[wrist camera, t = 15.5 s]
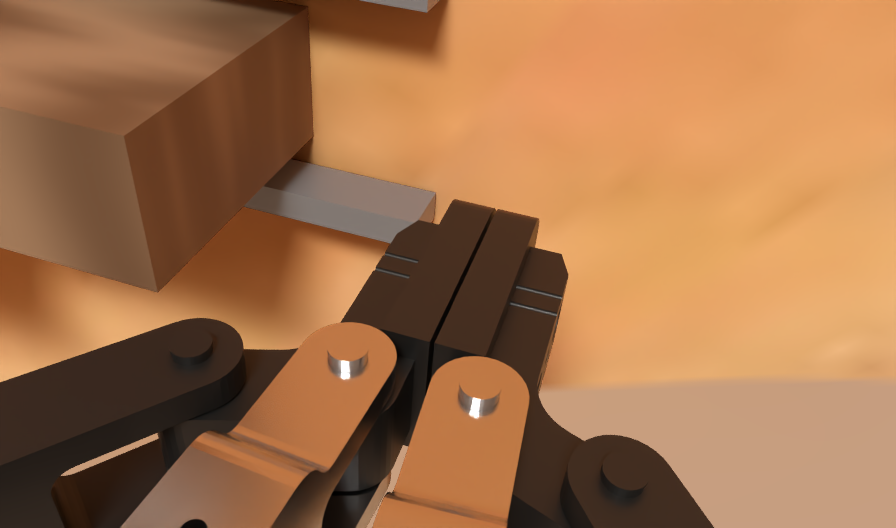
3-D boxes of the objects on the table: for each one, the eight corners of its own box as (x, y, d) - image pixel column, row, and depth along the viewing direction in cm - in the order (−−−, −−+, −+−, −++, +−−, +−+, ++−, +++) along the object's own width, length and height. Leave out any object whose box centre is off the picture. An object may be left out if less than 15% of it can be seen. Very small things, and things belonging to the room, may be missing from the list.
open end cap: (110, 140, 22) (75, 164, 21) (51, -114, 18) (3, -101, 17) (434, 218, 20) (415, 249, 19) (452, -48, 16) (429, -29, 15)
